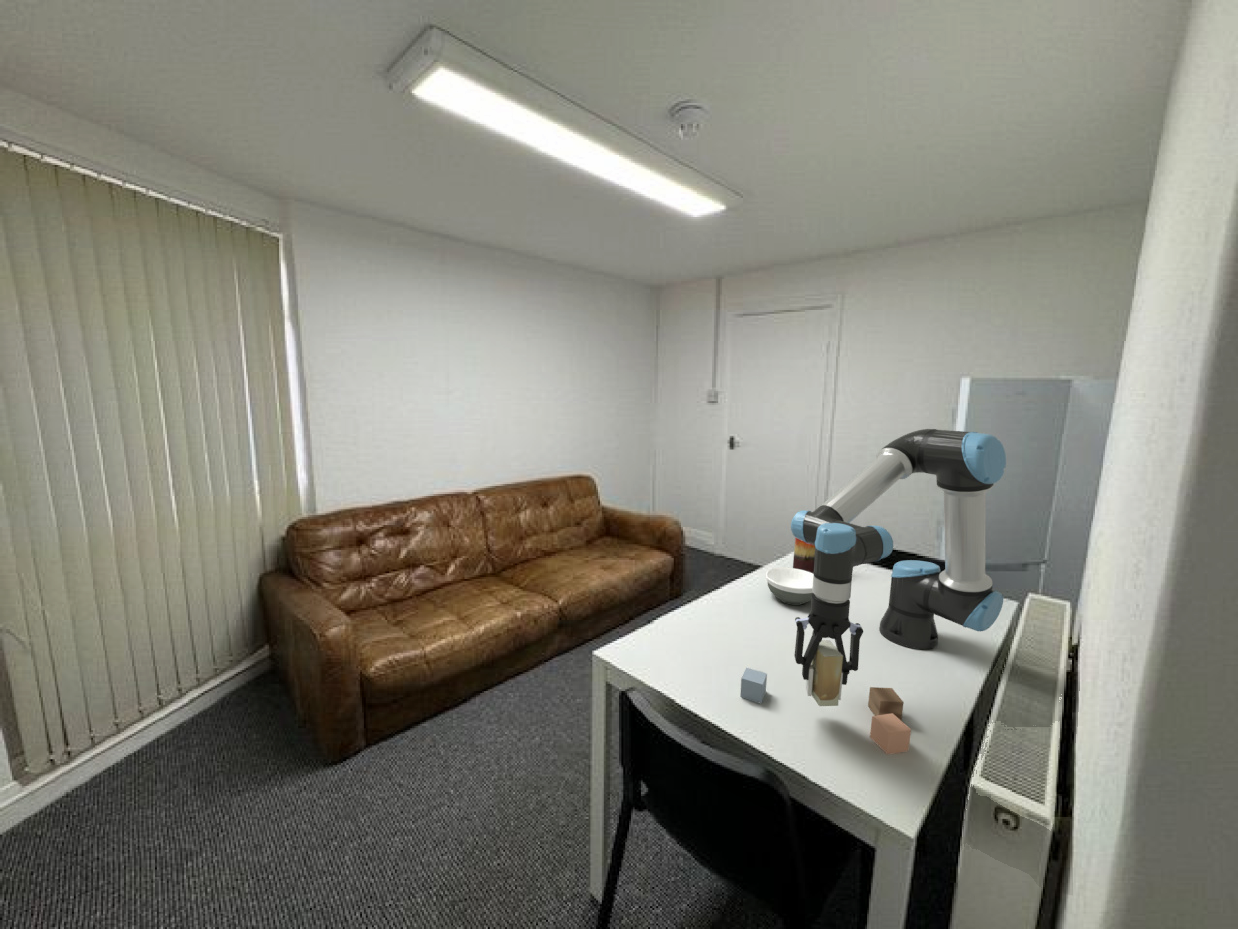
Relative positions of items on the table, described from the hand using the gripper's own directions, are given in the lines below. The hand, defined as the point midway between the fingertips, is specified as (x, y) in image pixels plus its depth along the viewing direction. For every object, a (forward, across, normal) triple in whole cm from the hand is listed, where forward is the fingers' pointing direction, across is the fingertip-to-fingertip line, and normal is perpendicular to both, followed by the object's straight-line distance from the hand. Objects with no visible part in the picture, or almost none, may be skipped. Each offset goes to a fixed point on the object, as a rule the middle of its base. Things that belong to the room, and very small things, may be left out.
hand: (822, 694), depth 105 cm
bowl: (+7, -2, -64) cm, 64 cm away
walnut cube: (+7, -15, -6) cm, 17 cm away
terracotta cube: (+7, -13, +4) cm, 15 cm away
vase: (+8, -11, -91) cm, 92 cm away
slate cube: (+6, +14, -6) cm, 17 cm away
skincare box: (+1, 0, 0) cm, 1 cm away
